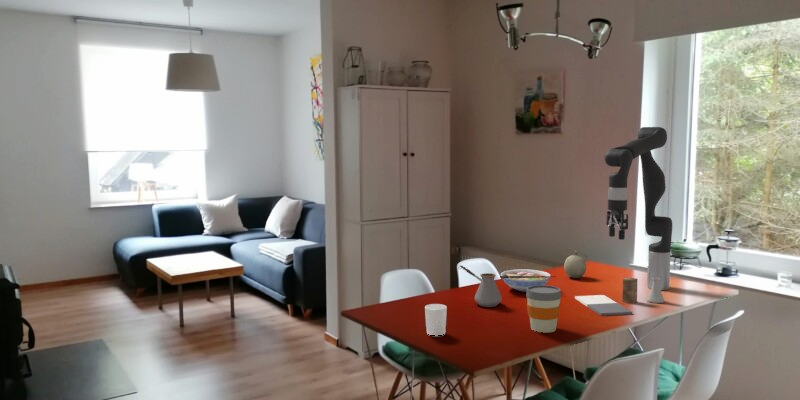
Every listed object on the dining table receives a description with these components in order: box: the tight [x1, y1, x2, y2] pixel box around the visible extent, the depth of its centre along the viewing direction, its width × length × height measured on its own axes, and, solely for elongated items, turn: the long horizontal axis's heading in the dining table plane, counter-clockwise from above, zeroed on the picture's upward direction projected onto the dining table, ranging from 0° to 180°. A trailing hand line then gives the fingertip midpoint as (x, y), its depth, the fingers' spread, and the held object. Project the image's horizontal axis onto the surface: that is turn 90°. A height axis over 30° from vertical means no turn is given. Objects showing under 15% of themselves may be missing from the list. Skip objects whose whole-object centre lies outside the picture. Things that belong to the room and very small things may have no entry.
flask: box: [646, 278, 665, 304], centre depth 256 cm, size 7×7×10 cm
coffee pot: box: [459, 265, 503, 308], centre depth 259 cm, size 21×12×15 cm, turn 44°
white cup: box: [424, 303, 448, 337], centre depth 219 cm, size 8×8×10 cm
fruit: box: [563, 246, 588, 279], centre depth 301 cm, size 10×12×15 cm
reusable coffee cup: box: [525, 284, 562, 334], centre depth 222 cm, size 13×13×15 cm
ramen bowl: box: [499, 268, 556, 293], centre depth 279 cm, size 25×23×8 cm
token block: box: [622, 276, 638, 305], centre depth 256 cm, size 4×4×10 cm
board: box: [574, 294, 633, 317], centre depth 251 cm, size 26×13×1 cm, turn 6°
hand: (616, 237), depth 247 cm, fingers open, 8 cm apart
